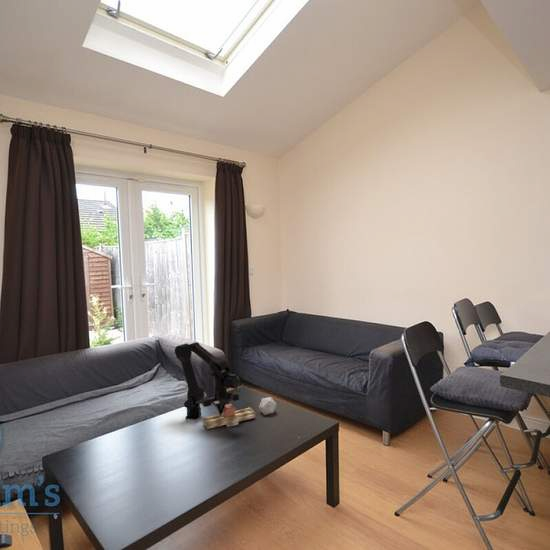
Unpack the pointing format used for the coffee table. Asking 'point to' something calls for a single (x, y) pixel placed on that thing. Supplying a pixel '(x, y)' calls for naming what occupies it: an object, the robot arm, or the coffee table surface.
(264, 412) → the die
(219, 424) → the beam
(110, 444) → the coffee table surface
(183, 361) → the robot arm
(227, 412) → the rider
